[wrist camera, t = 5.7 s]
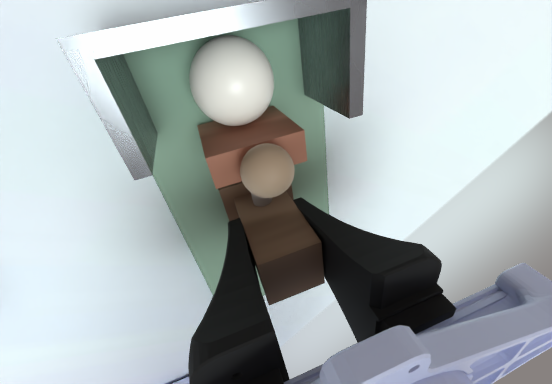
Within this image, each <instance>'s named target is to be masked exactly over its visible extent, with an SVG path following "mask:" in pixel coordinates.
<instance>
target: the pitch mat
mask: <svg viewBox="0 0 552 384" xmlns="http://www.w3.org/2000/svg"><path fill="white" fill-rule="evenodd" d="M225 35H234V36H239V37H242V38H245V39H247V40H249V41H251V42H252V43H254V44H255V45H256V46H258V47H259V48H260V49H261V50H262V52H263V53H264V54H265V56H266V57H267V59H268V61H269V63H270V65H271V68H272V71H273V76H274V91H273V96H272V99H271V102H270V104H269V106H268V107H270V106H275V107H276V108H277V109H278V110H280V111H281V112H282V113H283V114H285V115H286V116H287V117H288V118H290V119H291V120H292V121H294V122H295V123H296V124H297V125H299V126H300V127H301V128H302V129H304V131H305V141H306V152H307V161H305V162H302V163H299V164H296V165H294V170H295V172H294V178H293V181H292V183H291V184H292V191H293V198H294V199H297V198H300V197H301V198H303V199H305V200H306V201H308V202H309V203H311V204H312V205H314V206H315V207H317V208H319V209H320V210H322V211H324V212H325V213H327V214H329V206H328V186H327V166H326V145H325V125H324V105H323V104H321V103H319V102H317V101H315V100H313V99H311V98H309V97H307V96H305V95H304V85H303V74H302V63H301V51H300V40H299V29H298V18H297V19H292V20H287V21H282V22H277V23H272V24H267V25H262V26H257V27H253V28H248V29H243V30H238V31H233V32H228V33H223V34H218V35H213V36H208V37H203V38H198V39H193V40H188V41H183V42H178V43H173V44H169V45H164V46H159V47H154V48H149V49H144V50H139V51H134V52H129V53H124V54H123V55H124V57H125V59H126V62H127V64H128V66H129V69H130V71H131V73H132V75H133V78H134V80H135V82H136V84H137V87H138V89H139V91H140V94H141V96H142V98H143V100H144V103H145V105H146V107H147V109H148V112H149V114H150V116H151V118H152V121H153V123H154V125H155V128H156V130H157V132H158V136H157V144H156V151H155V159H154V166H153V174H152V175H153V177H154V179H155V181H156V183H157V185H158V187H159V189H160V191H161V193H162V195H163V197H164V199H165V201H166V203H167V205H168V207H169V209H170V211H171V213H172V215H173V216H174V218H175V220H176V222H177V224H178V226H179V228H180V230H181V232H182V234H183V236H184V238H185V240H186V242H187V244H188V246H189V248H190V250H191V252H192V254H193V256H194V258H195V260H196V262H197V264H198V266H199V268H200V270H201V272H202V274H203V276H204V278H205V280H206V282H207V284H208V286H209V288H210V290H211V292H212V294H213V295H214V293H215V290H216V288H217V285H218V282H219V279H220V276H221V272H222V268H223V264H224V260H225V255H226V249H227V241H228V222H229V219H228V216H227V213H226V210H225V207H224V204H223V201H222V198H221V196H220V193H219V190H218V189H216V187H215V184H214V182H213V179H212V176H211V173H210V170H209V167H208V164H207V162H206V159H205V155H204V151H203V147H202V143H201V139H200V135H199V131H198V127H197V125H201V124H205V123H208V122H212V121H214V120H212V119H211V118H209V117H208V116H207V115H205V114H204V113H203V112H202V110H201V109H200V108H199V107H198V105H197V104H196V102H195V100H194V98H193V95H192V93H191V89H190V83H189V73H190V67H191V63H192V61H193V58H194V56H195V55H196V53H197V51H198V50H199V49H200V48H201V47H202V46H203V45H204V44H205V43H207V42H208V41H210V40H212V39H214V38H216V37H219V36H225ZM255 267H256V266H255ZM256 271H257V269H256ZM257 275H258V272H257ZM258 280H259V284H260V288H261V293H262V296H263V295H265V292H264V289H263V286H262V283H261V281H260V278H259V275H258Z"/></svg>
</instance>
